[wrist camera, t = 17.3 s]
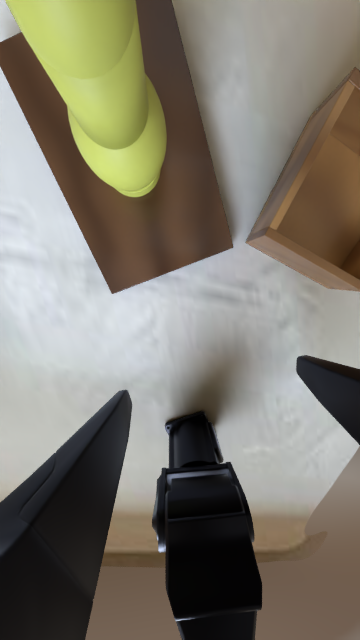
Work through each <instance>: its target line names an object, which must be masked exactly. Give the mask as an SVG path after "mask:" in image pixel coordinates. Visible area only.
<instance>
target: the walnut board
mask: <svg viewBox="0 0 360 640" xmlns="http://www.w3.org/2000/svg"><path fill="white" fill-rule="evenodd" d="M136 8H137V16H138V24H139V32H140V39H141V47H142V55H143V63H144V70H145V74H146V75H147V76H148V78H149V79H150V81H151V83H152V84H153V86H154V88H155V90H156V93H157V95H158V97H159V100H160V103H161V106H162V109H163V113H164V117H165V123H166V133H167V143H166V152H165V157H164V161H163V164H162V167H161V171H160V176H159V179H158V181H157V184H156V185H155V187H154V188H153V189H152V190H151V191H150V192H149V193H147V194H146V195H143V196H140V197H129V196H126V195H124V194H122V193H120V192H119V191H117V190H116V189H115V188H114V187H112V186H110V185H109V184H107V183H106V182H104V181H103V180H102V179H100V178H99V177H98V176H97V175H96V174H95V173H94V171H93V170H92V169H91V168H90V167H89V165H88V164H87V163H86V161H85V160H84V158H83V156H82V155H81V153H80V151H79V149H78V147H77V144H76V142H75V140H74V137H73V134H72V130H71V127H70V122H69V117H68V109H67V104H66V103H65V101H64V100H63V98H62V96H61V95H60V93H59V92H58V90H57V88H56V87H55V85H54V84H53V82H52V80H51V79H50V77H49V75H48V74H47V72H46V71H45V69H44V67H43V66H42V64H41V63H40V61H39V59H38V58H37V56H36V55H35V53H34V51H33V50H32V48H31V46H30V45H29V43H28V42H27V40H26V38H25V37H24V35H23V33H22V32H21V33H19V34H17V35H15V36H12V37H10V38H8V39H6V40H4V41H2V42H0V67H1V69H2V71H3V73H4V75H5V77H6V79H7V81H8V83H9V85H10V87H11V89H12V91H13V93H14V95H15V97H16V99H17V101H18V103H19V105H20V107H21V109H22V111H23V113H24V115H25V118H26V120H27V122H28V124H29V126H30V128H31V130H32V132H33V134H34V136H35V138H36V140H37V142H38V144H39V146H40V148H41V150H42V152H43V154H44V156H45V158H46V160H47V162H48V164H49V166H50V168H51V170H52V172H53V175H54V177H55V179H56V181H57V183H58V185H59V187H60V189H61V191H62V193H63V195H64V197H65V199H66V201H67V203H68V205H69V207H70V209H71V211H72V213H73V215H74V217H75V219H76V221H77V223H78V225H79V227H80V230H81V232H82V234H83V236H84V238H85V240H86V242H87V244H88V246H89V248H90V250H91V252H92V254H93V256H94V258H95V260H96V262H97V264H98V266H99V268H100V270H101V272H102V274H103V276H104V278H105V280H106V282H107V284H108V287H109V289H110V291H111V293H112V294H114V293H117V292H119V291H122V290H125V289H127V288H130V287H132V286H135V285H137V284H140V283H143V282H145V281H148V280H150V279H153V278H156V277H158V276H161V275H163V274H166V273H168V272H171V271H174V270H176V269H179V268H181V267H184V266H187V265H189V264H192V263H194V262H197V261H199V260H202V259H205V258H207V257H210V256H212V255H215V254H218V253H220V252H223V251H225V250H228V249H230V248H233V243H232V240H231V236H230V232H229V228H228V224H227V220H226V216H225V212H224V208H223V204H222V200H221V196H220V192H219V188H218V184H217V180H216V176H215V172H214V168H213V164H212V160H211V156H210V152H209V148H208V144H207V140H206V136H205V132H204V128H203V124H202V120H201V116H200V112H199V108H198V104H197V100H196V96H195V92H194V88H193V84H192V80H191V76H190V72H189V68H188V64H187V60H186V56H185V52H184V48H183V45H182V41H181V37H180V33H179V29H178V25H177V21H176V17H175V13H174V9H173V5H172V1H171V0H136Z"/></svg>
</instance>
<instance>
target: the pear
mask: <svg viewBox="0 0 360 640" xmlns="http://www.w3.org/2000/svg"><path fill="white" fill-rule="evenodd" d="M5 1H6V3H7V5H8V7H9V9H10V11H11V13H12V14H13V16H14V18H15V20H16V22H17V24H18V26H19V28H20V30H21V31H22V33H23V35H24V37H25V38H26V40H27V42H28V43H29V45H30V46H31V48H32V50H33V51H34V53H35V55H36V56H37V58H38V59H39V61H40V63H41V64H42V66H43V67H44V69H45V71H46V72H47V74H48V75H49V77H50V79H51V80H52V82H53V84H54V85H55V87H56V88H57V90H58V92H59V93H60V95H61V96H62V98H63V100H64V101H65V103H66V104H67V109H68V117H69V122H70V127H71V130H72V134H73V137H74V140H75V142H76V144H77V147H78V149H79V151H80V153H81V155H82V156H83V158H84V160H85V161H86V163H87V164H88V165H89V167H90V168H91V169H92V170H93V171H94V173H95V174H96V175H97V176H98V177H99V178H100V179H102V180H103V181H104V182H106V183H107V184H109V185H110V186H112V187H114V188H115V189H116V190H117V191H119V192H120V193H122V194H124V195H126V196H129V197H140V196H143V195H146V194H147V193H149V192H150V191H151V190H152V189H153V188H154V187H155V185H156V184H157V181H158V179H159V176H160V171H161V167H162V164H163V161H164V157H165V152H166V143H167V133H166V123H165V117H164V113H163V109H162V106H161V103H160V100H159V97H158V95H157V93H156V90H155V88H154V86H153V84H152V83H151V81H150V79H149V78H148V76H147V75H146V74H145V70H144V63H143V55H142V47H141V39H140V32H139V24H138V16H137V8H136V0H5Z"/></svg>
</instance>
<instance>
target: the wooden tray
mask: <svg viewBox="0 0 360 640" xmlns="http://www.w3.org/2000/svg"><path fill="white" fill-rule="evenodd" d="M246 243H247V244H249V245H250V246H252V247H254V248H256V249H258V250H260V251H261V252H263V253H265V254H267V255H269V256H270V257H272V258H274V259H276V260H278V261H279V262H281V263H283V264H285V265H287V266H289V267H290V268H292V269H294V270H296V271H298V272H299V273H301V274H303V275H305V276H307V277H308V278H310V279H312V280H314V281H316V282H318V283H319V284H321V285H323V286H325V287H327V288H330V289H339V290H349V291H358V292H360V71H359V70H358V69H357V68H356V67H355V68H354V69H353V70H352V71H351V72H350V73H349V74H348V75H347V76H346V78H345V79H344V80H343V81H342V82H341V83H340V84H339V85H338V86H337V87H336V89H335V90H334V91H333V92H332V93H331V94H330V95H329V96H328V97H327V99H326V100H325V101H324V102H323V103H322V104H321V105H320V106H319V107H318V109H317V110H316V111H315V112H314V113H313V114H312V115H311V116H310V118H309V120H308V122H307V124H306V126H305V128H304V130H303V132H302V134H301V136H300V138H299V140H298V142H297V144H296V146H295V147H294V149H293V151H292V153H291V155H290V157H289V159H288V161H287V163H286V165H285V167H284V169H283V171H282V173H281V175H280V177H279V179H278V180H277V182H276V184H275V186H274V188H273V190H272V192H271V194H270V196H269V198H268V200H267V202H266V204H265V206H264V208H263V210H262V212H261V213H260V215H259V217H258V219H257V221H256V223H255V225H254V227H253V229H252V231H251V233H250V235H249V237H248V239H247V241H246Z"/></svg>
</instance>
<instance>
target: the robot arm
mask: <svg viewBox="0 0 360 640" xmlns="http://www.w3.org/2000/svg"><path fill="white" fill-rule="evenodd" d="M296 371H297V374H298V375H299V377H300V378H301V379H302V380H303V382H304V383H305V384H306V386H307V387H308V388H309V389H310V391H311V392H312V393H313V394H314V396H315V397H316V398H317V399H318V401H319V402H320V403H321V404H322V405H323V406H324V407H325V408H326V409H327V410H328V412H329V413H330V414H331V415H332V416H333V417H334V418H335V419H336V420H337V421H338V422H339V423H340V424H341V425H342V426H343V428H344V429H345V430H346V431H347V432H348V433H349V434H350V435H351V436H352V437H353V438H354V439H355V440H356V441H357V442H358V444H359V445H360V369H357V368H353V367H349V366H345V365H342V364H338V363H334V362H330V361H326V360H323V359H319V358H315V357H311V356H307V355H304V356H299V357H298V358H297V365H296ZM131 412H132V401H131V398H130V395H129V393H128V391H127V390H122V391H119V392H117V393H116V394H115V395H114V396H113V397H112V398H111V399H110V400H109V401H108V402H107V403H106V404H105V405H104V406H103V407H102V408H101V409H100V410H99V411H98V412H97V413H96V414H95V415H94V416H93V417H91V418H90V419H89V420H88V421H87V422H86V423H85V424H84V425H83V426H82V427H81V428H80V429H79V430H78V431H77V432H76V433H75V434H74V435H73V436H72V437H71V438H70V439H69V440H68V441H67V442H65V443H64V444H63V445H62V446H61V447H60V448H59V449H58V450H57V451H56V453H54V454H53V455H52V456H51V457H50V458H49V459H48V460H47V461H46V462H45V463H44V464H43V465H41V466H40V467H39V468H38V469H37V470H36V471H35V472H34V473H33V474H32V475H31V476H30V477H29V478H27V479H26V480H25V481H24V482H23V483H22V484H21V485H20V486H19V487H17V488H16V489H15V490H14V491H13V492H12V493H11V494H10V495H8V496H7V497H6V498H5V499H4V500H3V501H2V502H0V640H85V637H86V633H87V628H88V623H89V619H90V614H91V610H92V605H93V599H94V595H95V590H96V586H97V581H98V577H99V572H100V567H101V563H102V558H103V554H104V549H105V544H106V540H107V535H108V530H109V526H110V521H111V517H112V512H113V507H114V503H115V498H116V494H117V489H118V484H119V480H120V475H121V470H122V466H123V461H124V457H125V452H126V447H127V443H128V437H129V430H130V421H131ZM168 426H169V427H168ZM165 429H166V431H167V433H168V435H169V468H167V469H166V468H162V473H161V475H160V477H159V478H158V479H157V492H156V500H155V506H154V512H153V518H152V527H153V529H154V530H155V532H156V533H157V540H158V548H159V553H160V552H166V590H167V595H168V597H169V601H170V604H171V608H172V611H173V615H174V618H175V620H176V623H177V626H178V629H179V631H180V635H181V638H182V640H255V629H256V616H257V610H261V608H262V582H261V578H260V574H259V570H258V567H257V563H256V559H255V555H254V550H253V546H252V542H254V528H253V522H252V517H251V513H250V509H249V506H248V503H247V500H246V497H245V494H244V492H243V489H242V487H241V485H240V483H239V480H238V478H237V476H236V473H235V471H234V469H233V467H232V464H231V462H226V463H223V464H220V463H222V462H223V456H222V453H221V449H220V446H219V442H218V439H217V435H216V432H215V430H214V427H213V425H212V423H211V422H208V419H207V417H206V415H205V413H204V412H203V411H201V412H198V413H195V414H192V415H189V416H186V417H183V418H180V419H178V420H175V421H172V422H169V423H166V424H165Z"/></svg>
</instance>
